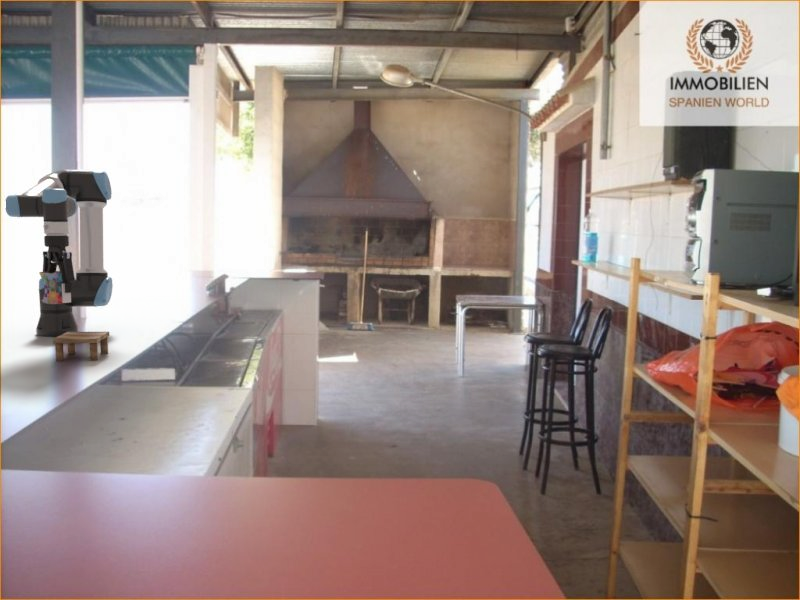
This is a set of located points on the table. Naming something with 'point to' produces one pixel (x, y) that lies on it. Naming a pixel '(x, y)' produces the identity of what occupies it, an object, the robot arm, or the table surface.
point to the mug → (52, 287)
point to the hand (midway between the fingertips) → (59, 301)
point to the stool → (81, 338)
